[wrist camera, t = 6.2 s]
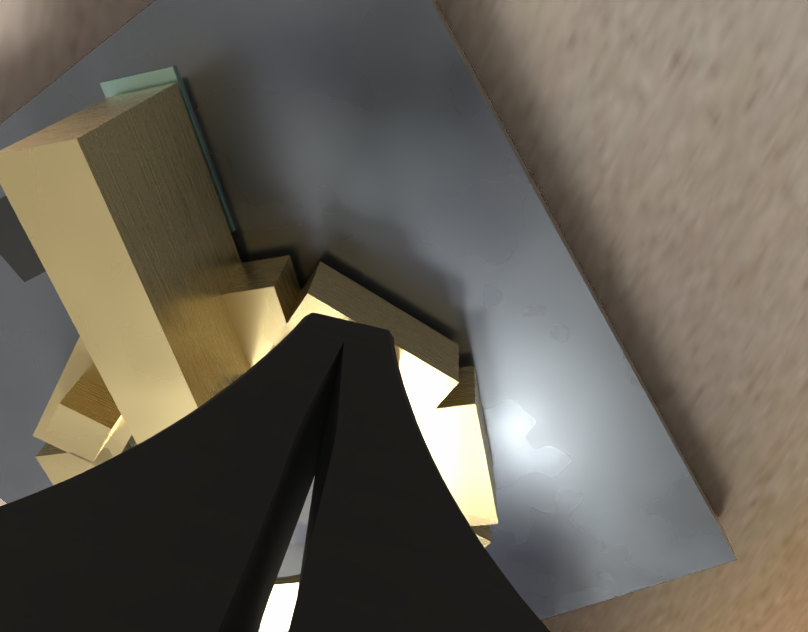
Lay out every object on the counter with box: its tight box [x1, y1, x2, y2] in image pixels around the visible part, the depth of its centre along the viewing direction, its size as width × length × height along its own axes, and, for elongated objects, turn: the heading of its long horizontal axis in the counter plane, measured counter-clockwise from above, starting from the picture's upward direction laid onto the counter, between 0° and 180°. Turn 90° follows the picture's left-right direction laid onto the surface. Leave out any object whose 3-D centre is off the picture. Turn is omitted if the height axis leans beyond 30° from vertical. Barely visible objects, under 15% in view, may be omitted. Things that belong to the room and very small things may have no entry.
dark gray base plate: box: [0, 0, 737, 632], centre depth 17 cm, size 20×18×4 cm
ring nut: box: [0, 83, 498, 632], centre depth 15 cm, size 15×11×4 cm
